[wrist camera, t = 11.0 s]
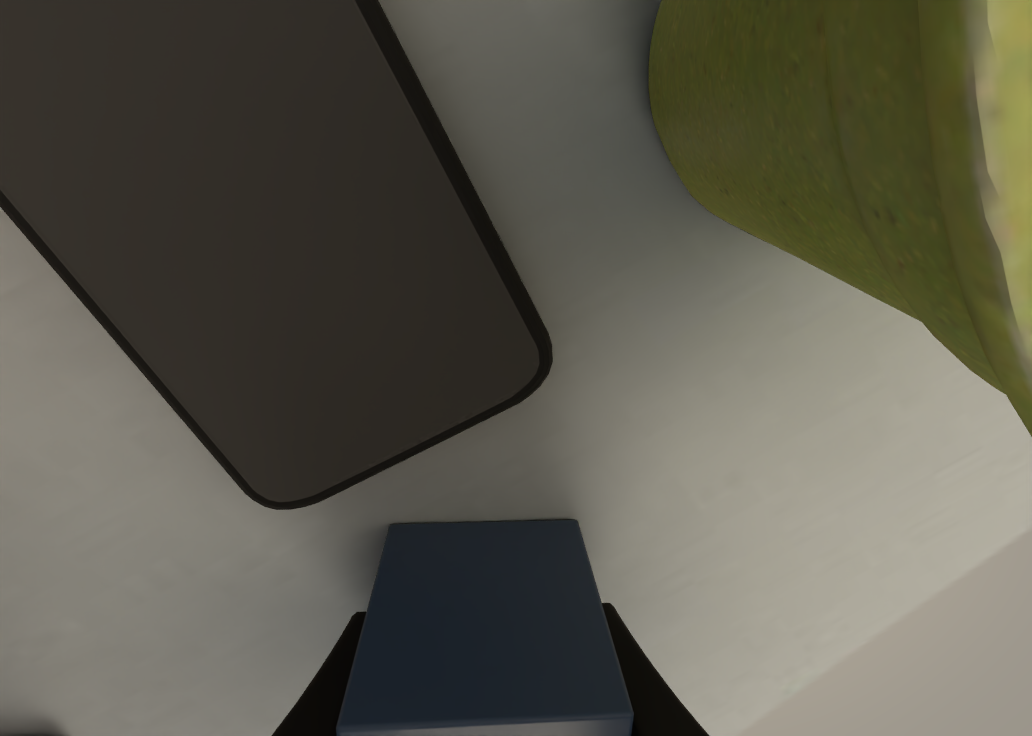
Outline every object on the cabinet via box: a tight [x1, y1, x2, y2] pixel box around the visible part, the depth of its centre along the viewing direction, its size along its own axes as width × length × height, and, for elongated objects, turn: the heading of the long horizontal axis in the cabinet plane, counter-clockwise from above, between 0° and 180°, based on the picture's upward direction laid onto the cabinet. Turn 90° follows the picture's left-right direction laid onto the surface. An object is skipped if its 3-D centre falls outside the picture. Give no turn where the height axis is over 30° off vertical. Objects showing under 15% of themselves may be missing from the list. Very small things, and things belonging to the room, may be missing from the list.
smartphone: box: [0, 0, 553, 510], centre depth 9 cm, size 7×1×15 cm
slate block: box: [336, 520, 634, 736], centre depth 11 cm, size 4×4×5 cm
